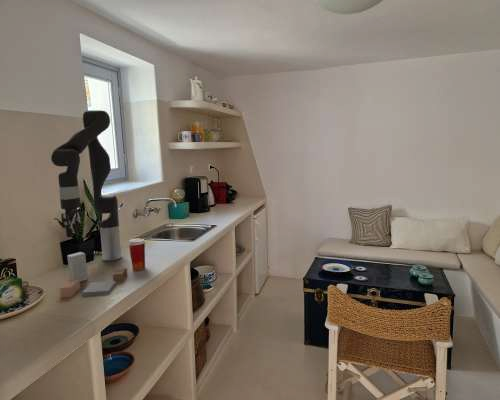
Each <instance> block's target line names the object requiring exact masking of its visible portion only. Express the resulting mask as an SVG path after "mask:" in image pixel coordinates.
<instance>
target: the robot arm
mask: <svg viewBox="0 0 500 400" xmlns="http://www.w3.org/2000/svg"><path fill="white" fill-rule="evenodd" d="M82 122H83V123H82V124H83V129H80V130H79V131H77V132H76V133H74V134H73V135H72V136H71V137H70V138H69V139H68V140H67V141H66V142H65V143H63V144H61V145H60V146H58V147H56V148H55V149H54V150H53V152H52V153H51V157H50V160H51V162H52V164H53V165H55V166H56V167H61V168H62V167H66V170H65V171H64V172H61V173H58V175H57V176H58V177H57V178H58V186H59V191H58V192H59V201H60V208H61V210H64V212H63V213H61V228H62V229H65V234H66V238H72V237H73V236H74V235H73V234H74V233H73V228H72V227H73V224H74V231H75V233H81V232H82V226H81V223H82V222H83V213H82V208H81V207H82V204H81V201H82V200H81V194H80V188H79V181H78V174H79V168H80V163H81V156H80V155H81V154H82V153H83V152H84V151H85V149H86V148H88V149H87V150H88V156H89V165H90V173H91V179H92V187H93V188H92V189H93V190H92V191H93V205H94V206H93V207H94V211H95V213H96V214H98V215H102V214H103V215H104V214H110V216H109V217H107V218H105V219H102V220H100V222H99V233H100V243H101V252H102V260H103V261H108V262H110V261H117V260H120V259H121V258H122V257H123V255H122V244H121V234H120V222H119V221H120V220H119V205H118V203H119V202H118V198H117V196H116V195H113V194H111V195H110V194H109V195H102V189H103V187H104V183H105V182H106V180H107V178H108V177H109V175H110V172H111V167H112V166H111V160H110V156H109V154H108V151H107V149H105V148H104V146H103V145H102V144H101V142H100V140H99V138H98V137H99V136H100V135H101V134H103V132H105V131H106V130H107V129H108V128H109V127H110V125H111V117H110V115H109V113H108V112H107V111H105V110H99V109H98V110H97V109H96V110H95V109H94V110H89V109H88V110H84V112H83V114H82Z"/></svg>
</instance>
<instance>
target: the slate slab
mask: <svg viewBox="0 0 500 400" xmlns="http://www.w3.org/2000/svg"><path fill="white" fill-rule="evenodd" d="M116 285H117V283H116V281H113V280H112V281H111V280H110V281H93V282H90V283H89V284H88V285H87V286H86V288H84V289H83V291H82V292H81V294H82V295H81V296H82V297H85V296H87V297H89V296H104V295H110V294H111V292H112V291H113V289H114V288H115V287H116Z"/></svg>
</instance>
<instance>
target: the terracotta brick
mask: <svg viewBox="0 0 500 400" xmlns="http://www.w3.org/2000/svg"><path fill="white" fill-rule="evenodd" d="M80 283H81V282H79V280H70V279H69V280H68V281H66V282H65V283H64V284H63V285H61V286H60V287H59V289H60V298H70V297H71V298H72V297H73V296H74V295H75V294H76V293H77V292H78V291H79V290H80V289H81V284H80Z"/></svg>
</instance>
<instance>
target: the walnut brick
mask: <svg viewBox="0 0 500 400" xmlns="http://www.w3.org/2000/svg"><path fill="white" fill-rule="evenodd" d="M127 277H128V268H127V266H126V267H117V268H116V269H115V270H114V272H113V273H112V281H116V284H117V283H124V282H125V280H126V278H127Z"/></svg>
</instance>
